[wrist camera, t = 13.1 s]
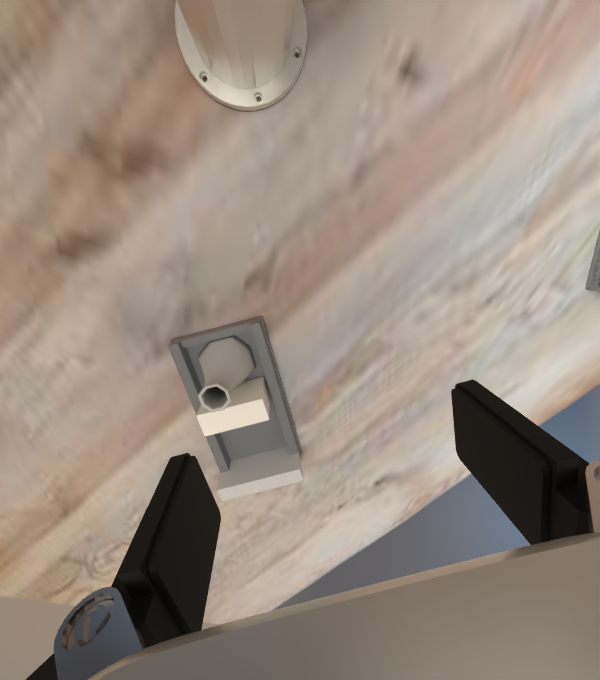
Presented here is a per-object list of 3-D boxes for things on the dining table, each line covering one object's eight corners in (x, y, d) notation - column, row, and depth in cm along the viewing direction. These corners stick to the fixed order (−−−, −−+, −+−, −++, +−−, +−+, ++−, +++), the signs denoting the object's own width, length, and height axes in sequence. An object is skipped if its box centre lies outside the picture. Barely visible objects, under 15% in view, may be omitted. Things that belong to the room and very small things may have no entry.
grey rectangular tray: (172, 339, 40) (156, 356, 34) (262, 316, 40) (260, 329, 35) (225, 470, 48) (219, 502, 42) (301, 450, 48) (305, 479, 42)
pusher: (206, 391, 42) (196, 415, 36) (263, 376, 42) (262, 398, 36) (213, 409, 43) (204, 436, 37) (269, 395, 43) (269, 419, 37)
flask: (234, 324, 39) (222, 352, 30) (265, 367, 42) (264, 406, 32) (188, 353, 40) (162, 390, 31) (221, 394, 42) (207, 440, 33)
